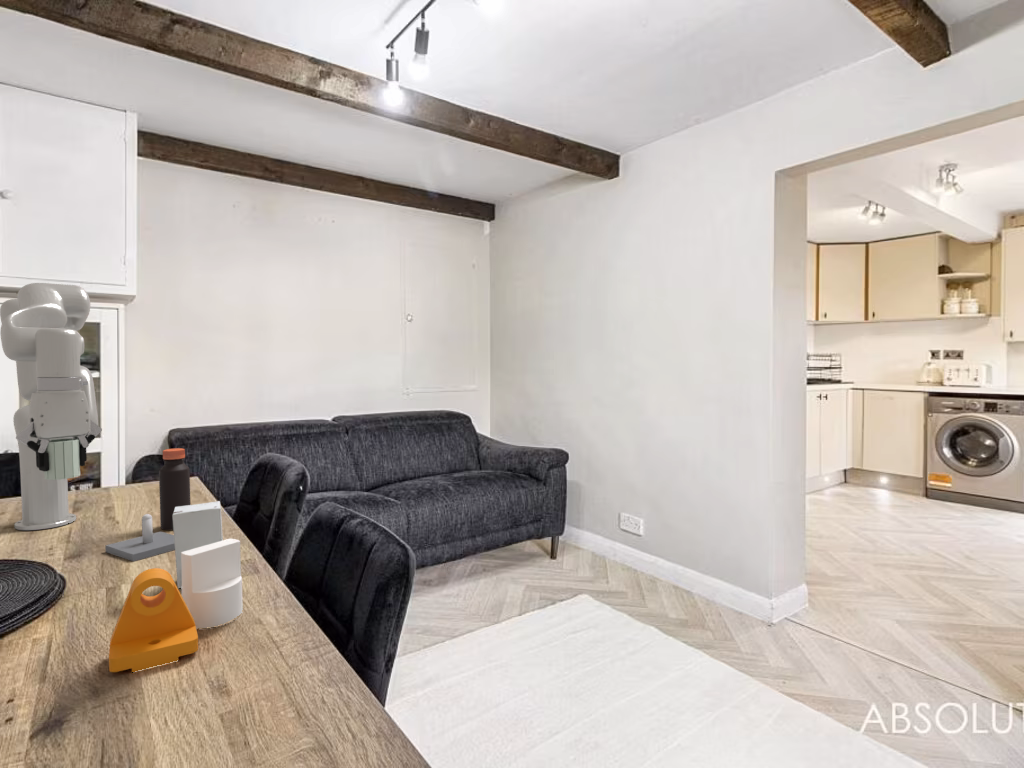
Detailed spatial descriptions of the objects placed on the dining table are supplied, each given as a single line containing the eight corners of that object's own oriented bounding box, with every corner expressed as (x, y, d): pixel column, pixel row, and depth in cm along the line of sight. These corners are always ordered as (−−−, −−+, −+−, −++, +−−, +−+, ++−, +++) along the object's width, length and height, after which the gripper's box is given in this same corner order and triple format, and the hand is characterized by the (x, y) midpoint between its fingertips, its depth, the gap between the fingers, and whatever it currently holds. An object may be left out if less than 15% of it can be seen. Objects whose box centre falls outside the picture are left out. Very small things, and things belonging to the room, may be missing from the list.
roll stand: (105, 551, 130) (104, 516, 129) (160, 537, 140) (159, 504, 140) (133, 561, 124) (132, 524, 123) (189, 545, 134) (188, 511, 134)
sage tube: (39, 477, 125) (38, 440, 125) (72, 472, 130) (71, 437, 130) (52, 480, 122) (51, 443, 122) (85, 475, 127) (83, 439, 127)
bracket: (109, 679, 78) (105, 592, 78) (111, 656, 84) (108, 575, 84) (198, 657, 84) (196, 576, 84) (194, 637, 90) (192, 561, 90)
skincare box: (224, 572, 117) (223, 500, 117) (224, 582, 112) (222, 507, 111) (177, 579, 114) (175, 504, 113) (174, 590, 108) (172, 512, 108)
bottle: (154, 528, 147) (152, 450, 146) (178, 521, 154) (176, 447, 153) (173, 531, 145) (170, 452, 144) (197, 524, 151) (195, 448, 150)
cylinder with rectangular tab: (202, 634, 91) (199, 559, 90) (171, 620, 96) (169, 549, 95) (253, 613, 99) (252, 543, 98) (223, 601, 103) (221, 535, 103)
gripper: (95, 383, 134) (98, 459, 135) (1, 386, 120) (5, 472, 121) (112, 384, 131) (114, 463, 132) (16, 388, 116) (20, 477, 117)
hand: (62, 467), depth 126 cm, fingers closed on sage tube, 6 cm apart
